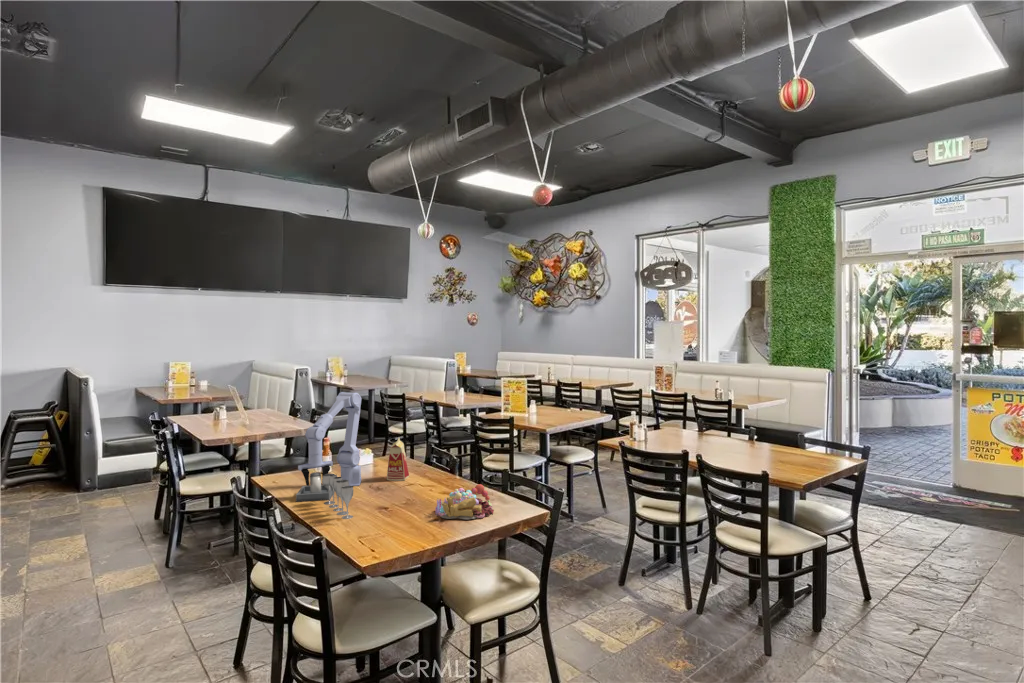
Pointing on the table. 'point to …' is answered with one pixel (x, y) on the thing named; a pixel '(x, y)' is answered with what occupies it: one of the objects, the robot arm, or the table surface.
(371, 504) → the table surface
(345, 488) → the goblet set
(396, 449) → the milk carton
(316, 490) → the cylinder
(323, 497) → the tray
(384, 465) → the table surface
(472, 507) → the candy landscape model
